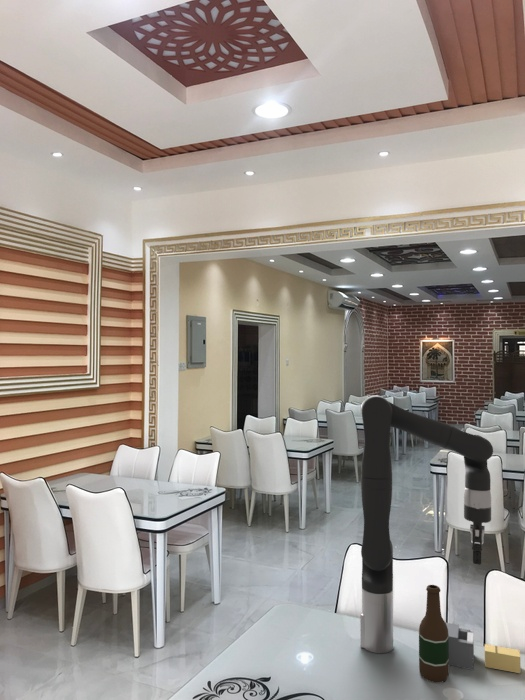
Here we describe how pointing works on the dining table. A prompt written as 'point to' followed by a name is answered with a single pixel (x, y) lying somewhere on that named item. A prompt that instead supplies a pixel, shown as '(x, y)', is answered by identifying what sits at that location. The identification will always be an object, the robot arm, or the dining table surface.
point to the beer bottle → (433, 640)
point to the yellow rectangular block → (502, 658)
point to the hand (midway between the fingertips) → (477, 558)
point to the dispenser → (460, 646)
